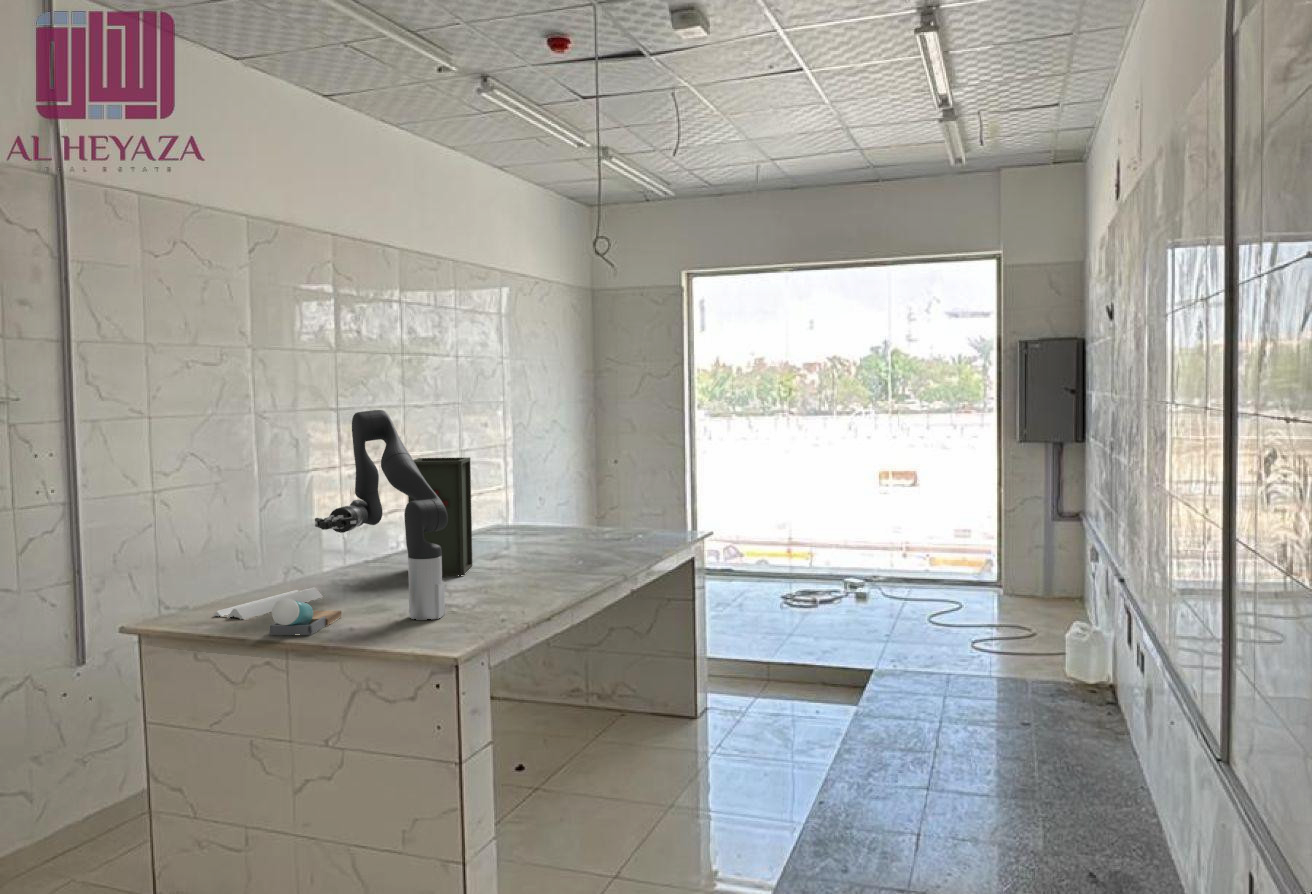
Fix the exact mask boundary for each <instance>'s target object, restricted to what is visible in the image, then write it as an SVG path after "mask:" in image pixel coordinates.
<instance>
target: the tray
mask: <svg viewBox="0 0 1312 894" xmlns="http://www.w3.org/2000/svg"><path fill="white" fill-rule="evenodd" d="M325 625H326V617H322V618H320V619H318V620H317V621H315V622H313V623H312V624H307V625H281V624H278V623H277V622H275V621H274V623H272V624H270V625H269V636H272V635H295V634H300V635H311V636H313V635H314V634H316V633H317V632H316V631H318V630H319V629H321V628H322V629H324V628H325V627H324V626H325ZM323 627H324V628H323ZM322 629H321V630H322ZM319 631H320V630H319ZM319 631H318V632H319ZM315 632H316V633H315ZM313 633H314V634H313ZM312 634H313V635H312Z"/></svg>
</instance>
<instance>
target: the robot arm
mask: <svg viewBox="0 0 1312 894" xmlns="http://www.w3.org/2000/svg"><path fill="white" fill-rule="evenodd" d="M351 419H352V420H351V435H352V436H351V437H352V446H353V456H354V465H355V482H354V483H355V484H354V495H355V496H356V497H357V498H358V499H354V500H352V501H351V503H350V505H344V506H342V507H338V508H335V509H333V510H332V511H331V512H330V514H329V515H328V516H327V517H324V518H322V517H321V518H320V517H315V518H314V527H316V528H319V529H321V530H323V531H325V530H333V531H335V532H336V533H341V534H343V533H347V532H350V531H352V530H355V529H356V528H357V527H360V526H362V525H364V524H365V525H369V526H375V525H378V524H379V523H380V522H381V521H382V519H383V505H382V503H381V499H380V495H379V482H380V481H379V480H380V479H379V478H380V477H379V470H378V468H377V466H376V465H375V463H374V462H373V460H372V458H371V457H370V456H369V454H368V452H367V449H366V442H371V441H380V440H382V441H383V442H384V444H385V447H384V449H383V453H382V456H381V460H380V469H381V471H382V473H383V474H384V476H385V477H386V479H387V481H388V483H389V484H390V485H391V486H392V487H393V488H394V489H396V490H397V491H399V492H401V493H403V494H404V495H406V496H407V497H408V496H409V497H411V498H413V499H414V500H415V501H410V502H409V503H408V502H407V504H406V505H405V508H404V528H405V529H404V531H405V543H406V544H405V545H406V550H407V563H408V564H407V568H408V569H407V571H408V607H409V608H408V612H409V613H408V614H409V619H410V618H411V619H410V620H414V619H416V620H415V621H428V620H427V619H431V620H437V619H438V620H439V618H440V619H441V618H443V616H444V615H446V607H445V606H446V605H445V603H446V601H445V599H446V597H445V595H446V594H445V592H446V591H445V581H444V580H443V577H442V556H441V555H442V550H441V547H440V546H439V545H437V544H433V543H429V542H427V541H426V540H425V538H424V533H426V532H434V531H439V530H442V529H444V528H445V527H446V525H447V522H448V515H447V511H446V508H445V506H444V504H443V502H442V501H441V500H440V498H439V497H438V496H437V494H436V493H435V492H434V491H433V490H432V488H431V487H430V486H429V485H428V483H427V482H426V480H425V479H424V477H423V476H422V474H421V473H420V471H419V469H418V467H417V466H416V464H415V462H414V461H413V460H414V459H413V457H412V456H411V455H410V452H408V450H407V448H406V446H405V445H404V443H403V442H402V439H401V437H400V436H399V434H398V432H397V430H396V427H395V425H394V423H393V421H392V419H391V417H390V415H389V414H388V413H387V412H386V411H385V410H383V409H374V410H366V411H358V412H355V413H354V414H353V416H352V418H351Z"/></svg>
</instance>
